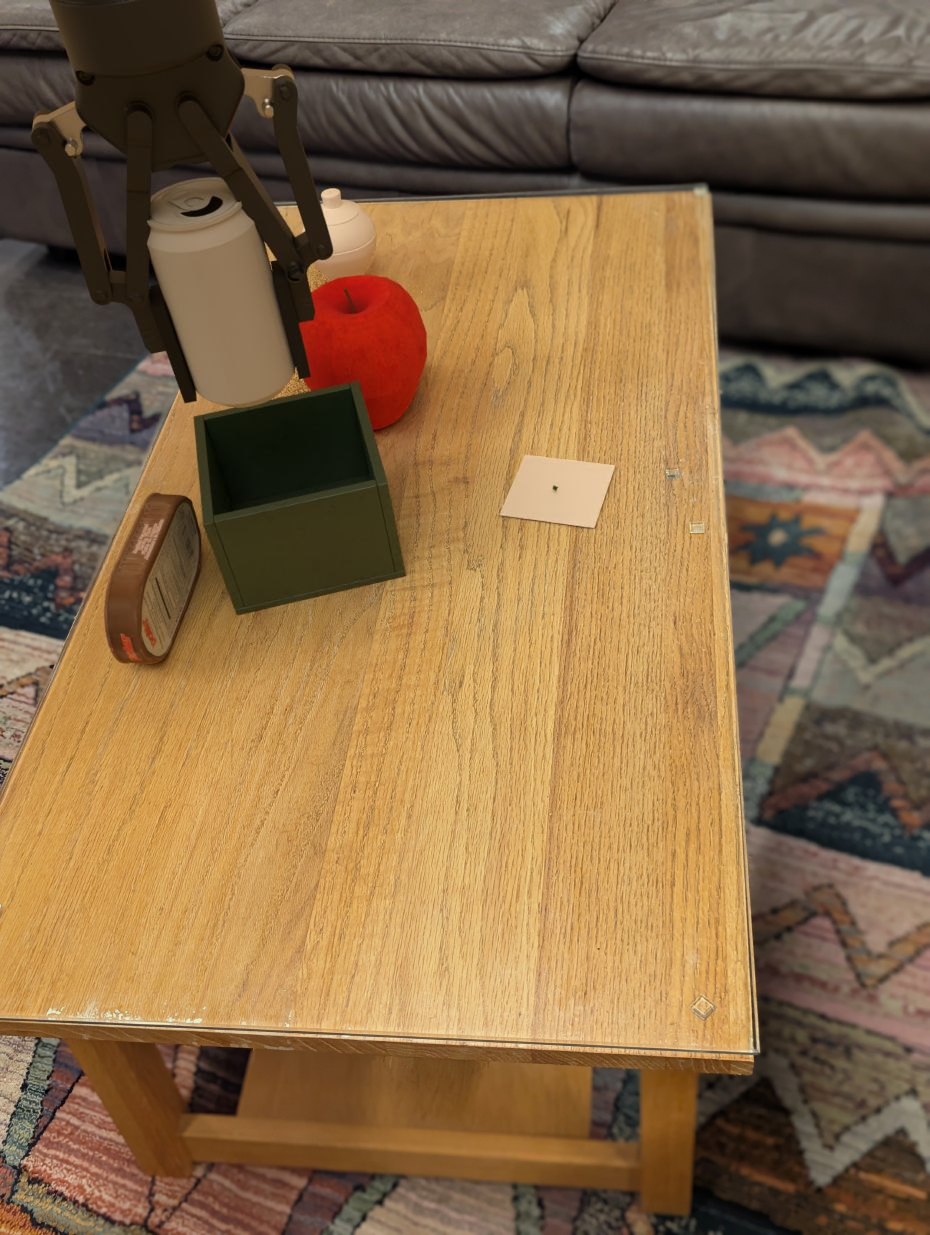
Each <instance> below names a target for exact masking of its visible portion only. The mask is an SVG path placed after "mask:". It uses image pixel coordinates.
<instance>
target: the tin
mask: <svg viewBox="0 0 930 1235" xmlns="http://www.w3.org/2000/svg"><path fill="white" fill-rule="evenodd" d="M202 541H203V540H202V531H201V529H200V524H199V521H198V517H197V513H196V511H195V507H194V504H193V501H192V498H189V497H188V496H186V495H182V494H170V493H169V494H168V493H160V492H156V491H155V492H152V493H150V494H148V495H147V496H146V498H145V499H144V500H143V502H142V504H141V506H140V508H139V511H138V513H137V515H136V516H135V519H134V521H133V524H132V526H131V528H130V529H129V532H128V535H127V537H126V539H125V541H124V542H123V545H122V548H121V549H120V552H119V554H118V556H117V558H116V560H115V563H114V564H113V566H112V569H111V572H110V574H109V577H108V579H107V580H108V581H107V586H106V590H105V597H104V607H103V620H104V630H105V638H106V641H107V646H108V648H109V650H110V652H111V654H112V656H113V658H115V660H117V662H118V663H121V664H123V665H124V664H125V665H128V664H145V665H147V664H148V665H150V664H151V665H152V664H158V663H160V662H161V661H163V660H164V659H165V658H166V656H168V654H169V652H170V650H171V648H172V647H173V646H172V645H173V643H174V641H175V638H176V636H177V633H178V631H179V628H180V625H181V623H182V621H183V618H184V615H185V613H186V610H187V607H188V605H189V602H190V599H191V597H192V594H193V591H194V589H195V586H196V583H197V580H198V577H199V574H200V568H201V563H202V562H201V561H202V553H203V552H202V549H203V544H202V543H203V542H202Z"/></svg>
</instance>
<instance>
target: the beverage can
mask: <svg viewBox="0 0 930 1235" xmlns="http://www.w3.org/2000/svg"><path fill="white" fill-rule="evenodd" d="M147 222H148V225H149V226H150V236H149V238H148V241H147V246H148V249H149V251H150V253H149V261H150V263H151V265H152V267H153V271H154V274H155V277H156V280H157V282H158V283H157V284H159V286H160V288H161V291H162V294H163V297H164V300H165V303H166V306H167V309H168V312H169V315H170V317H171V320H172V323H173V326H174V329H175V332H176V335H177V338H178V341H179V343H180V346H181V349H182V352H183V355H184V358H185V361H186V364H187V367H188V369H189V372H190V375H191V378H192V381H193V384H194V387H195V389H196V393H197V394H198V395H199V396H200V397H201V398H203V399H204V400H206V401H207V402H210V403H213V404H216V405H221V406H224V407H227V408H243V407H251V406H255V405H259V404H262V403H264V402H267V401H269V400H272V399H275V398H276V397H277V396H279V395H280V394H281V393H282V392H283V391H284V390H285V388H286V386H287V385H288V384H289V383H290V382H291V380H292V378H293V377H294V376H295V373H296V370H297V369H296V365H295V362H294V358H293V354H292V350H291V346H290V342H289V338H288V334H287V330H286V327H285V323H284V319H283V315H282V311H281V307H280V303H279V299H278V296H277V292H276V288H275V284H274V278H273V273H272V267H271V262H270V257H269V253H268V250H267V244H266V243H265V241H264V240H263V238H262V237H261V235H260V234H259V232H258V231H257V229H256V227H255V223H254V221H253V220H252V219H251V218H249V217H248V216H247V214H246V213H245V211H244V210H243V208H242V204H241V202H238V201H237V199H236V198H235V196H234V195H233V193H232V192H231V190H230V189H229V187H228V186H227V184H226V183H225V181H224V180H223V179H221V178H220V177H213V176H211V177H197V178H192V179H188V180H183V181H180V182H176V183H174V184H171V185H169V186H167V187H164V188H163V189H160V190H159V191H157V192H155V193H154V194H153V195H151V203H150V220H149V221H148V220H147Z"/></svg>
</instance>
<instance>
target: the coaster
mask: <svg viewBox="0 0 930 1235" xmlns="http://www.w3.org/2000/svg"><path fill="white" fill-rule="evenodd" d="M615 469H616V465H615V464H608V463H598V462H590V461H584V460H583V461H582V460H574V459H566V458H557V457H549V456H540V455H539V456H538V455H532V454H524V456H523V458H522V461H521V462H520V465H519V467H518V470H517V472H516V475H515V477H514V479H513V481H512V484H511V487H510V489H509V491H508V493H507V496H506V498H505V500H504V503H503V505H502V507H501V510H500V511H499V512H500V513H499V514H498V515H499V516H501V517H502V516H503V517H510V518H517V519H524V520H531V521H532V520H533V521H539V522H547V523H555V524H561V525H569V526H570V525H571V526H576V527H583V528H589V529H590V528H591V529H595V528H596V525H597V521H598V518H599V516H600V513H601V510H602V506H603V505H604V501H605V497H606V495H607V493H608V492H607V491H608V490H609V486H610V483H611V480H612V477H613V474H614V471H615Z"/></svg>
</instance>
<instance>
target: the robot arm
mask: <svg viewBox="0 0 930 1235" xmlns="http://www.w3.org/2000/svg"><path fill="white" fill-rule="evenodd" d="M48 3H49V5H50V8H51V11H52V14H53V17H54V19H55V22H56V26H57V28H58V31H59V33H60V37H61V39H62V42H63V46H64V48H65V50H66V54H67V57H68V59H69V63H70V65H71V68H72V71H73V74H74V77H75V86H76V87H75V96H74V100H73V101H71V102H69V103H67V104H65V105H63V106H61V107H59V108H58V109H55V110H54V111H53V110H50V109H47V108H41V109H38V111H36V112H35V113H34V116H33V122H32V128H31V134H30V141H31V143H32V145H33V147H34V148H35V149H36V151H37V152H38V154H39V155H40V157H41V158H42V159H43V161H44V162H45V164H46V165H47V167H48V168H49V170H50V171H51V172H52V174H53V176H54V178H55V183H56V186H57V188H58V192H59V196H60V199H61V203H62V204H63V205H62V206H63V209H64V212H65V216H66V219H67V222H68V226H69V229H70V233H71V236H72V239H73V242H74V246H75V249H76V253H77V256H78V260H79V263H80V267H81V270H82V274H83V276H84V280H85V283H86V287H87V289H88V294H89V297H90V299H91V301H93V303H95V304H96V305H98V306H106V305H109V304H110V303H118V304H123V305H124V306H127V307H128V308H129V309H130V311H131V313H132V315H133V318H134V321H135V323H136V326H137V329H138V331H139V334H140V336H141V339H142V342H143V345H144V347H145V349H146V350H147V352H149V353H150V354H151V355H154V354H158V353H159V354H160V353H163V352H166V356H167V358H168V361H169V364H170V367H171V370H172V372H173V375H174V378H175V380H176V383H177V386H178V389H179V392H180V395H181V398H182V401H183V403H184V404H189V403H193V402H197V401H198V400H197V391H196V389H195V387H194V384H193V381H192V378H191V375H190V372H189V369H188V367H187V364H186V361H185V358H184V355H183V352H182V349H181V346H180V343H179V341H178V338H177V335H176V332H175V329H174V326H173V323H172V320H171V317H170V315H169V312H168V309H167V306H166V303H165V300H164V297H163V294H162V291H161V288H160V286H159V283H157V284H152V285H150V257H149V253H150V251H149V249H148V246H147V241H148V238H149V236H150V226H149V225H148V222H147V220H148V221H149V220H150V203H151V196H152V174H153V173H157V172H162V171H167V170H170V169H171V168H174V167H176V166H177V165H179V164H188V165H191V164H192V165H198V164H199V165H200V164H204V163H210V165H211V166H212V169H213V170H214V171H215V172H216V174H217V175H218V178H221V179H223V180H224V181H225V183H226V184H227V186H228V187H229V189H230V190H231V192H232V193H233V195H234V196H235V198H236V199H237V201H238V202H241V204H242V208H243V210H244V211H245V213H246V214H247V216H248V217H249V218H251V219H252V220H253V221H254V223H255V227H256V229H257V231H258V232H259V234H260V235H261V237H262V238H263V240H264V242H265V245H266V247H268V250H270V252H271V254H272V255H273V257H274V258H275V260H271V261H270V260H269V261H270V265H271V269H272V273H273V278H274V284H275V288H276V292H277V296H278V299H279V303H280V307H281V311H282V315H283V319H284V323H285V327H286V330H287V334H288V338H289V342H290V346H291V350H292V354H293V358H294V362H295V365H296V369H295V370H296V373H297V377H298V380H303V378H308V377H311V374H310V369H309V364H308V359H307V354H306V350H305V346H304V342H303V338H302V334H301V330H300V326H299V323H302V322H307V321H311V320H314V317H315V308H314V303H313V299H312V295H311V292H312V291H311V286H310V282H309V278H308V270H309V268H310V267H311V265H313V264H312V263H314V262H316V261H317V260H327V259H329V258H330V257H331V256H332V254H333V245H332V242H331V238H330V234H329V230H328V227H327V224H326V220H325V217H324V214H323V211H322V207H321V204H322V203H321V200H320V197H319V194H318V192H317V188H316V184H315V181H314V178H313V174H312V172H311V168H310V165H309V162H308V159H307V154H306V152H305V151H306V150H305V148H304V145H303V142H302V139H301V134H300V132H299V129H298V126H297V123H298V122H297V121H298V101H299V100H298V99H299V92H298V87H297V83H296V79H295V76H294V72H293V71H292V69H291V67H290V66H289V65H288V64H285V63H277V64H275V65H273V66H272V68H271V69H270V70H269V69H256V68H245V67H242V65H241V63H240V61H239V60H238V59H237V58H236V57H235V56H234V55H233V53H232V52H231V50H230V48H229V46H228V45H227V42H226V39H225V35H224V31H223V30H224V29H223V27H222V22H221V18H220V15H219V11H218V6H217V3H216V0H48ZM244 96H247V97H249V98H250V99H252V100H253V102H254V104H255V107H256V111H257V113H258V114H259V115H260V116H261V117H262V118H264V119H269V120H271V123H272V128H273V132H274V136H275V141H276V145H277V147H278V151H279V153H280V156H281V160H282V163H283V166H284V169H285V172H286V175H287V178H288V181H289V185H290V188H291V191H292V193H293V197H294V200H295V203H296V206H297V210H298V213H299V216H300V218H301V222H302V225H303V226H304V228H305V232H303V233H302V232H301V233H299V234H298V235H296V236H295V234H294V232H293V231H292V229H291V228H290V226H289V225H288V223H287V221H286V220H285V218H284V216H283V215H282V214H281V212H280V210H279V209H278V207H277V205H276V204H275V203H274V201H273V199H272V197H271V196H270V195H269V193H268V191H267V190H266V189H265V188H266V187H265V186H264V185H263V183H262V182H261V180H260V179H259V177H258V176H257V175H256V173H255V171H254V170H253V168H252V166H251V165H250V163H249V162H248V160H247V158H246V157H245V156H244V154H243V152H242V151H241V149H240V147H239V145H238V142H237V141H236V138H235V137H234V135H233V134H232V132H231V131H230V130H231V126H232V124H233V121H234V119H235V117H236V114H237V112H238V109H239V107H240V105H241V102H242V99H243V97H244ZM85 127H88V128H89V129H90V130H92V131H93V132H95V133H96V134H97V135H98V136H99V137H101V138H102V139H103V140H104V141H105V142H107V143H108V144H109V145H111V146H112V147H113V148H114V149H115V150H117V151H118V152H119V153H121V155H123V156H124V157H125V158H126V241H125V242H126V246H125V247H126V248H125V250H126V255H125V256H126V261H125V262H126V264H125V267H126V268H125V271H124V270H123V271H121V270H113V268H112V264H111V260H110V257H109V253H108V248H107V246H106V242H105V239H104V236H103V231H102V228H101V224H100V220H99V217H98V213H97V210H96V205H95V203H94V199H93V195H92V192H91V187H90V184H89V180H88V177H87V173H86V169H85V166H84V161H83V160H82V155H81V154H82V152H83V150H84V144H85V136H84V135H83V131H82V130H83V129H84V128H85Z"/></svg>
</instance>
